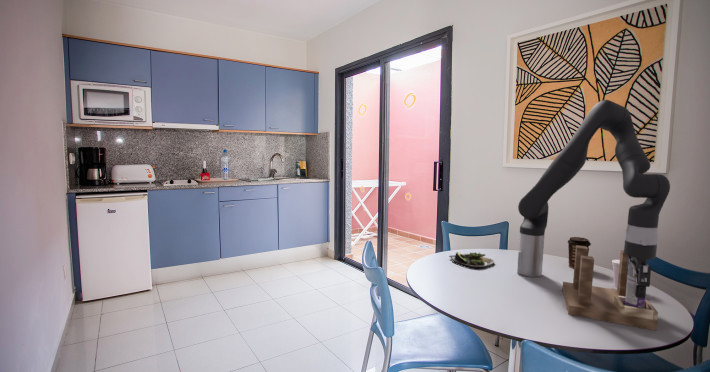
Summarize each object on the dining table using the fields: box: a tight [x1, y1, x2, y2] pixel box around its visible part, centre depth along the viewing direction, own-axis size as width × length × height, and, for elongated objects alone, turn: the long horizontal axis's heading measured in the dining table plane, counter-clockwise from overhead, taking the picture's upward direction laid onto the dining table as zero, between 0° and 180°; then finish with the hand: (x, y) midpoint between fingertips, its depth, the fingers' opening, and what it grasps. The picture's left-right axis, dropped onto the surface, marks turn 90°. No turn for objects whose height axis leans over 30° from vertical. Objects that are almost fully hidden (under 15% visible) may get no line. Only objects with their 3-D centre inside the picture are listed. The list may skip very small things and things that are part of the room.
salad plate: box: [448, 251, 495, 270], centre depth 162 cm, size 19×18×5 cm
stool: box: [561, 245, 659, 332], centre depth 115 cm, size 22×22×18 cm
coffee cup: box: [567, 236, 592, 269], centre depth 154 cm, size 9×8×13 cm
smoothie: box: [611, 259, 620, 288], centre depth 133 cm, size 6×6×14 cm
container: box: [625, 262, 647, 309], centre depth 106 cm, size 5×5×15 cm
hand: (635, 292), depth 106 cm, fingers open, 8 cm apart
